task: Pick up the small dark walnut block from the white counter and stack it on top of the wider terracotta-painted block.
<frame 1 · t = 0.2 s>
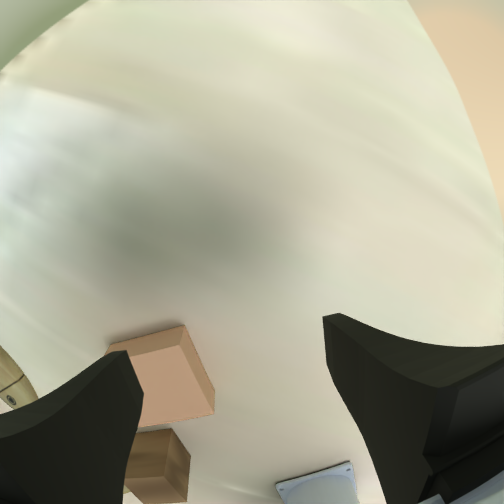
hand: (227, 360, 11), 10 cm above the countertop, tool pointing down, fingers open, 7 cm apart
base block: (163, 367, 22), on the countertop
walnut block: (161, 445, 24), on the countertop
toy food set: (27, 425, 24), on the countertop
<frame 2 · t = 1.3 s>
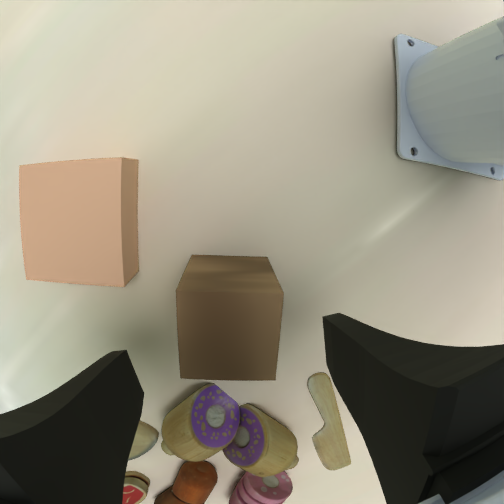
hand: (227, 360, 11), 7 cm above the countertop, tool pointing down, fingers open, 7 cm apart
base block: (90, 215, 16), on the countertop
walnut block: (228, 291, 18), on the countertop
toy food set: (185, 460, 22), on the countertop
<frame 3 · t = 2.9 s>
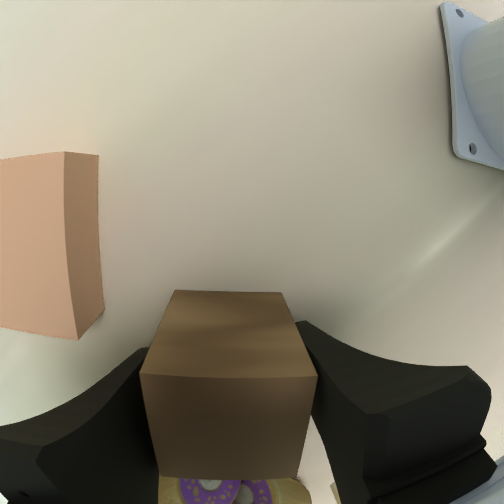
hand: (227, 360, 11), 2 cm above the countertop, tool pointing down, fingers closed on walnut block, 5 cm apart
base block: (40, 233, 11), on the countertop
walnut block: (227, 338, 12), on the countertop, touching gripper
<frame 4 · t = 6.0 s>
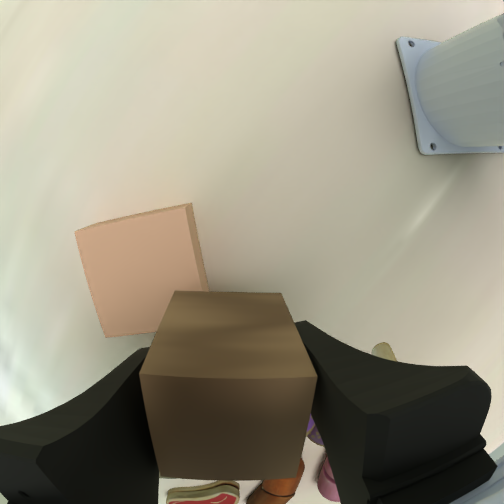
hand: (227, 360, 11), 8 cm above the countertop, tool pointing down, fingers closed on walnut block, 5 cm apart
base block: (152, 262, 18), on the countertop
walnut block: (227, 339, 12), point 6 cm above the countertop, touching gripper
toy food set: (269, 456, 23), on the countertop
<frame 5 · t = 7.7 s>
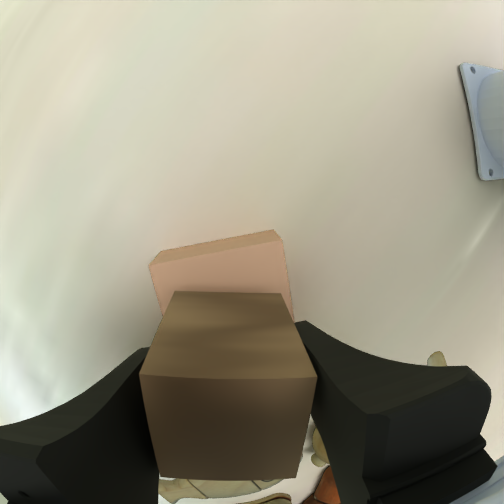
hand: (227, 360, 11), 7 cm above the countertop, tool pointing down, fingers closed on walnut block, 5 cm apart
base block: (227, 292, 17), on the countertop
walnut block: (227, 339, 12), point 5 cm above the countertop, touching gripper
toy food set: (322, 466, 22), on the countertop
when the fingers open (6 cm above the countertop, at t = 9.0 s): walnut block drops 1 cm, point 3 cm above the countertop.
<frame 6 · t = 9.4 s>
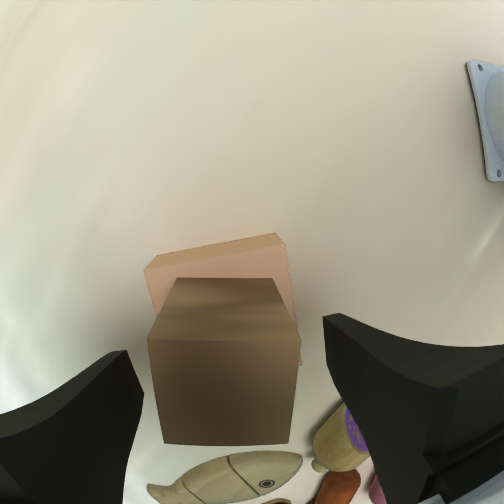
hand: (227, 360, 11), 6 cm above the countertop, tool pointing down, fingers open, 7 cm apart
base block: (227, 298, 17), on the countertop
walnut block: (224, 321, 14), point 3 cm above the countertop
toy food set: (323, 471, 21), on the countertop
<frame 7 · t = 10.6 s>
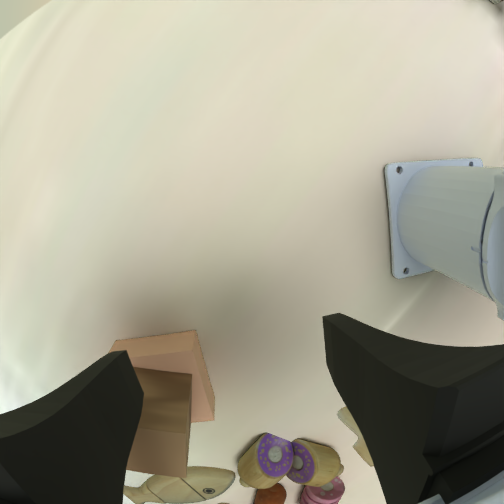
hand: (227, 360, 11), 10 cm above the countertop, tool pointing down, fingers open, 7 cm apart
base block: (166, 368, 22), on the countertop
walnut block: (161, 394, 19), point 3 cm above the countertop
toy food set: (258, 485, 27), on the countertop
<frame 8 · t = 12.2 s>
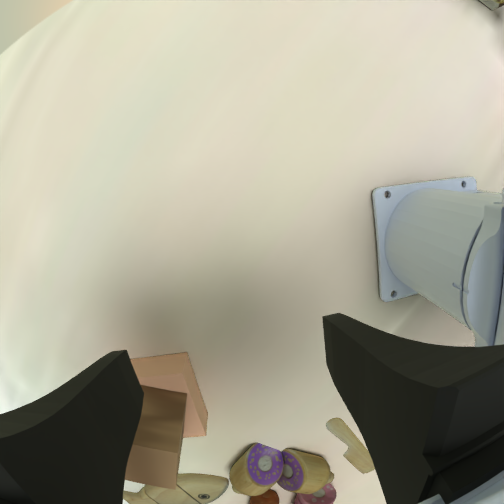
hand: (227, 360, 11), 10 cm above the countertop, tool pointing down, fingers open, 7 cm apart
base block: (161, 386, 23), on the countertop
walnut block: (157, 409, 20), point 3 cm above the countertop
toy food set: (252, 490, 27), on the countertop
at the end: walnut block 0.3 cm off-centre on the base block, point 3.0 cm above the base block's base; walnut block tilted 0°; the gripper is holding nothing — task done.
